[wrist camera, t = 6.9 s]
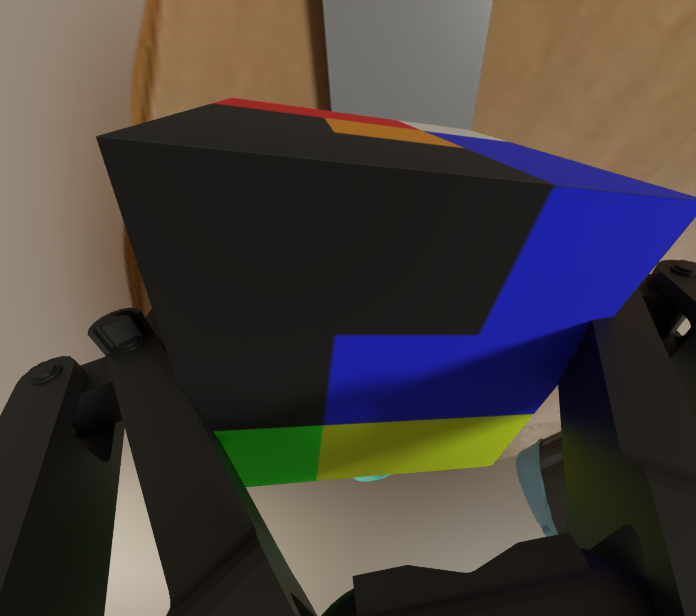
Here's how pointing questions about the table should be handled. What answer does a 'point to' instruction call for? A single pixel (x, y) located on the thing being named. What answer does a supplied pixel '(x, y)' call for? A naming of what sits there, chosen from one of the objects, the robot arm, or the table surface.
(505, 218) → the puzzle toy
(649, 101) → the table surface
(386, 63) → the pin tray
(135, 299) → the table surface
